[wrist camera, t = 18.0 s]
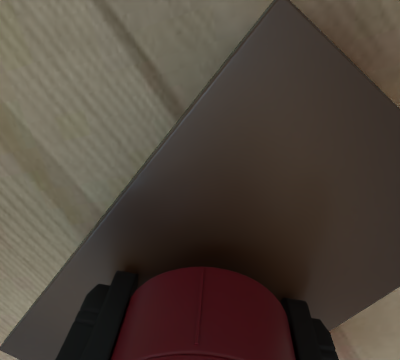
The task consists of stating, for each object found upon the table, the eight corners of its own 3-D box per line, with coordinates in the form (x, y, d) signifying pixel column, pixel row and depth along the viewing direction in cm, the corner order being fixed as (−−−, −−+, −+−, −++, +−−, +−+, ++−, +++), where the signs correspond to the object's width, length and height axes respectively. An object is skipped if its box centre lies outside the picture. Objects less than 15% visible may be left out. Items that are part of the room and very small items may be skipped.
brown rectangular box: (184, 320, 22) (170, 432, 16) (64, 249, 20) (-3, 350, 14) (402, 138, 15) (510, 217, 10) (256, -2, 13) (282, -8, 7)
